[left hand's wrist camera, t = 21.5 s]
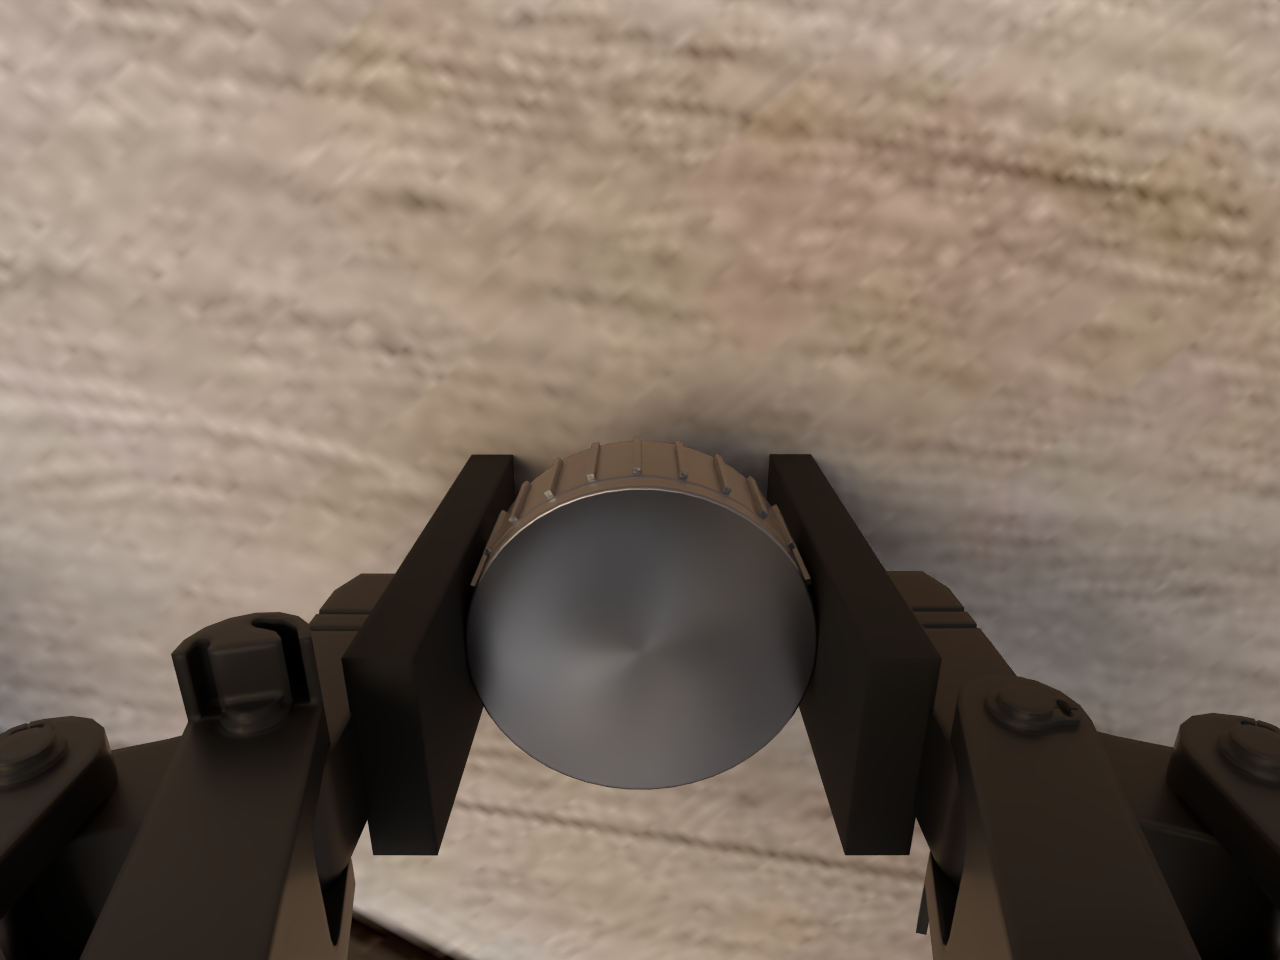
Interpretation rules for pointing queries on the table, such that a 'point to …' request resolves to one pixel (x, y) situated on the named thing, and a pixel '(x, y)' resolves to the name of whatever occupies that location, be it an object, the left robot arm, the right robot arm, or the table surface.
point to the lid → (641, 617)
